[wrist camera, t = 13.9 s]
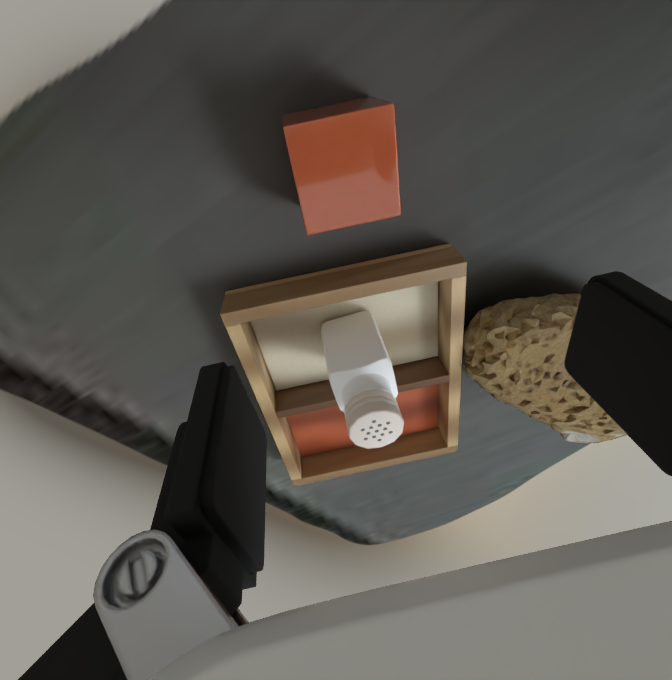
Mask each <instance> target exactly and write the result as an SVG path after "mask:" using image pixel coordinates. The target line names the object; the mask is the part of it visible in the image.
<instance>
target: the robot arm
mask: <svg viewBox="0 0 672 680" xmlns="http://www.w3.org/2000/svg"><path fill="white" fill-rule="evenodd" d="M564 364H565V368H566V370H567V372H568V373H569V375H570V376H571V377H572V378H573V379H574V380H575V381H576V382H577V383H578V384H579V385H580V386H581V387H582V388H583V389H584V390H585V391H586V392H587V393H588V394H589V395H590V396H591V397H592V398H593V399H594V401H595V402H596V403H597V404H598V405H599V406H600V407H601V408H602V409H603V410H604V411H605V412H606V413H607V414H608V415H609V416H610V417H611V418H612V419H613V420H614V421H615V422H616V423H617V424H618V425H619V426H620V427H621V428H622V429H623V430H624V432H625V433H626V434H627V435H628V436H629V437H631V439H632V440H633V441H634V442H635V443H636V444H637V445H638V446H639V447H640V448H641V449H642V450H643V451H644V452H645V453H646V454H647V455H648V456H649V457H650V458H651V459H652V460H653V461H654V462H655V463H656V464H657V466H658V467H659V468H660V469H661V470H662V471H664V472H665V473H666V474H668V475H670V476H672V301H670V300H669V299H667V298H665V297H663V296H662V295H660V294H658V293H657V292H655V291H653V290H651V289H650V288H648V287H646V286H644V285H643V284H641V283H639V282H638V281H636V280H634V279H632V278H631V277H629V276H627V275H626V274H624V273H622V272H611V273H607V274H602V275H598V276H594V277H592V278H591V279H590V280H589V281H588V284H586V285H585V286H584V287H583V290H582V294H581V297H580V301H579V305H578V309H577V313H576V317H575V321H574V325H573V329H572V333H571V337H570V341H569V345H568V349H567V353H566V356H565V361H564ZM266 451H267V440H266V434H265V431H264V428H263V426H262V424H261V422H260V420H259V418H258V416H257V414H256V411H255V409H254V407H253V405H252V403H251V401H250V399H249V397H248V395H247V392H246V390H245V388H244V386H243V384H242V382H241V380H240V378H239V375H238V373H237V371H236V369H235V367H234V366H227V365H226V363H225V362H220V363H216V364H212V365H207V366H203V367H202V368H201V369H200V372H199V376H198V380H197V384H196V388H195V392H194V396H193V400H192V404H191V408H190V412H189V416H188V420H187V422H184V423H182V424H181V425H180V426H179V428H178V430H177V434H176V437H175V441H174V445H173V448H172V452H171V456H170V459H169V463H168V467H167V470H166V474H165V478H164V481H163V485H162V489H161V492H160V496H159V500H158V503H157V507H156V511H155V515H154V518H153V522H152V525H151V529H150V530H149V531H143V532H141V533H138V534H136V535H134V536H132V537H130V538H129V539H128V540H126V541H125V542H123V543H122V544H121V545H120V546H119V547H118V548H117V549H116V550H115V551H114V552H113V553H112V554H111V555H110V556H109V558H108V559H107V560H106V562H105V563H104V565H103V567H102V568H101V570H100V572H99V575H98V577H97V580H96V582H95V588H94V594H93V597H94V602H95V603H94V604H93V605H92V606H91V607H90V608H89V609H88V610H87V611H86V612H85V613H84V614H83V615H82V616H81V617H80V618H79V619H78V620H77V621H76V622H75V623H74V624H73V625H72V626H71V627H70V628H69V629H68V630H67V631H66V632H65V633H64V634H63V635H62V636H61V637H60V638H59V639H58V640H57V641H56V642H55V643H54V644H53V645H52V646H51V647H50V648H49V649H48V650H47V651H46V652H45V653H44V654H43V655H42V656H41V657H40V658H39V659H38V660H37V661H36V662H35V663H34V664H33V665H32V666H31V667H30V668H29V669H28V670H27V671H26V672H25V673H24V674H23V675H22V676H21V677H20V678H19V679H18V680H672V521H669V522H665V523H660V524H656V525H651V526H647V527H642V528H638V529H633V530H629V531H625V532H620V533H616V534H612V535H607V536H603V537H598V538H594V539H589V540H585V541H581V542H576V543H572V544H568V545H563V546H559V547H555V548H550V549H545V550H541V551H537V552H532V553H528V554H524V555H519V556H515V557H511V558H506V559H502V560H497V561H493V562H489V563H484V564H480V565H476V566H471V567H467V568H463V569H459V570H454V571H450V572H446V573H441V574H437V575H433V576H429V577H424V578H420V579H416V580H411V581H407V582H403V583H399V584H394V585H390V586H386V587H381V588H377V589H373V590H369V591H365V592H360V593H357V594H353V595H349V596H344V597H341V598H337V599H333V600H329V601H325V602H321V603H317V604H313V605H309V606H305V607H301V608H297V609H293V610H289V611H285V612H282V613H279V614H276V615H273V616H270V617H266V618H263V619H260V620H256V621H254V622H250V623H249V622H248V621H247V620H246V618H245V617H244V616H243V614H242V613H241V612H240V610H239V609H238V607H239V606H240V604H241V602H242V590H243V589H247V588H252V587H256V574H257V572H258V571H261V570H262V569H263V566H264V538H265V534H264V533H265V495H266Z"/></svg>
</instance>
